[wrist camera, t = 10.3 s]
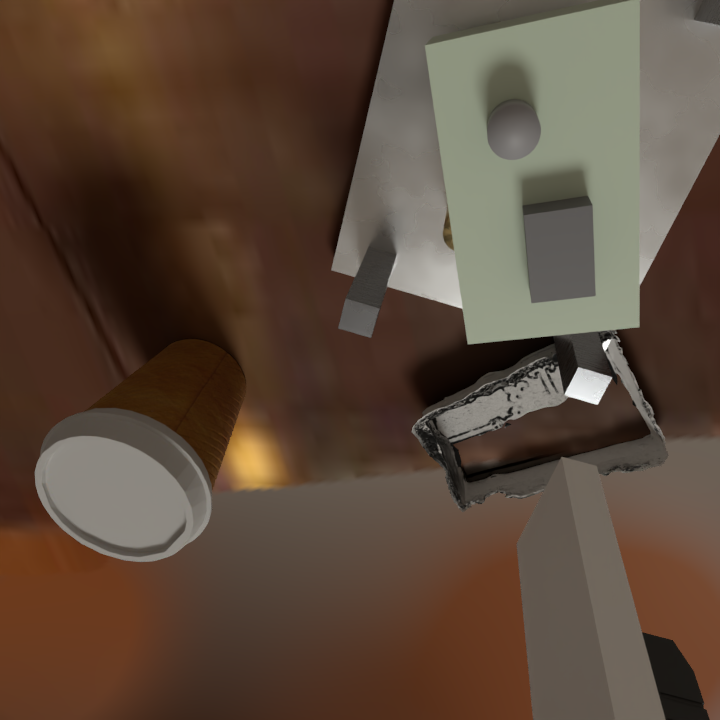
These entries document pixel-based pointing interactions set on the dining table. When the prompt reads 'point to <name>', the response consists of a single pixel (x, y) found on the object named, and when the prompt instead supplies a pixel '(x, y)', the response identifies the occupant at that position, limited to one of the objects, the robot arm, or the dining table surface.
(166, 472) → the disposable coffee cup
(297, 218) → the dining table surface
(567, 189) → the board
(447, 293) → the chassis
